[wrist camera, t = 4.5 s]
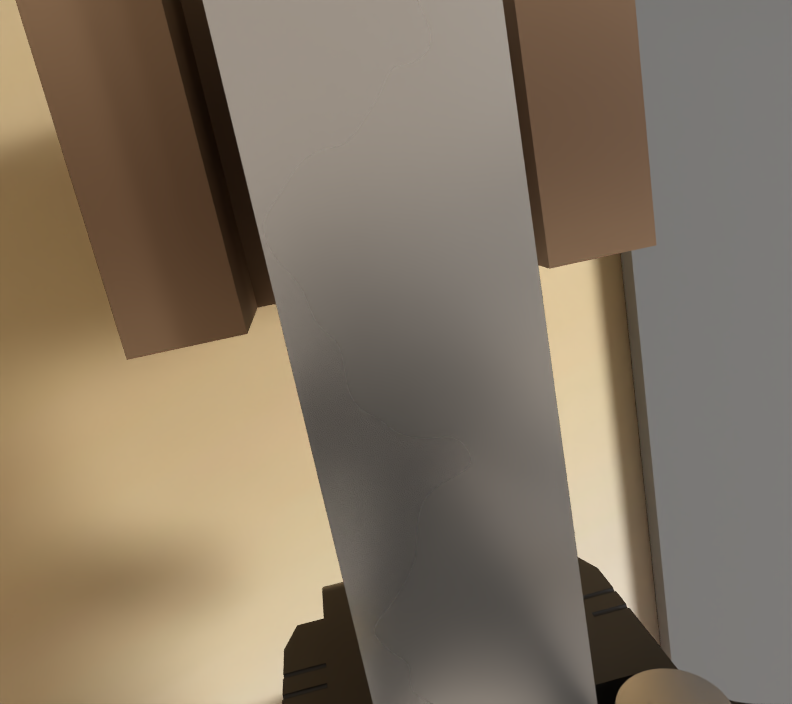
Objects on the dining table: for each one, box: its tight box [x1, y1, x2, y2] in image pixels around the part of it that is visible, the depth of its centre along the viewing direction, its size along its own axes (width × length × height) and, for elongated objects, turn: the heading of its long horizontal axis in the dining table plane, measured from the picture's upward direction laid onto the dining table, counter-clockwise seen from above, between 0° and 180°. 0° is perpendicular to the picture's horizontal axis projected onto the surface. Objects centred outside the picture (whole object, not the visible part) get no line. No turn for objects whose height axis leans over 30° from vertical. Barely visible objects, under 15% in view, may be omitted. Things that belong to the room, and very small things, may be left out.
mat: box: [621, 0, 792, 704], centre depth 18 cm, size 28×8×1 cm, turn 11°
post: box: [16, 0, 657, 360], centre depth 11 cm, size 4×6×10 cm, turn 101°
